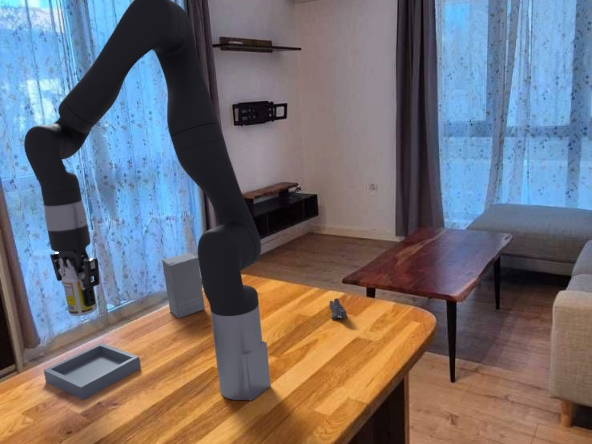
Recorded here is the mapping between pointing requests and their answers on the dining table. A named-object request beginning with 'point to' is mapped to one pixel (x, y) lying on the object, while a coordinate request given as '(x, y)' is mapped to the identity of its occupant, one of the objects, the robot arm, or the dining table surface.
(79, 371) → the slate tray
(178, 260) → the skincare box
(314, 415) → the dining table surface
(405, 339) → the dining table surface
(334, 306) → the animal figurine
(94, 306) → the supplement bottle
